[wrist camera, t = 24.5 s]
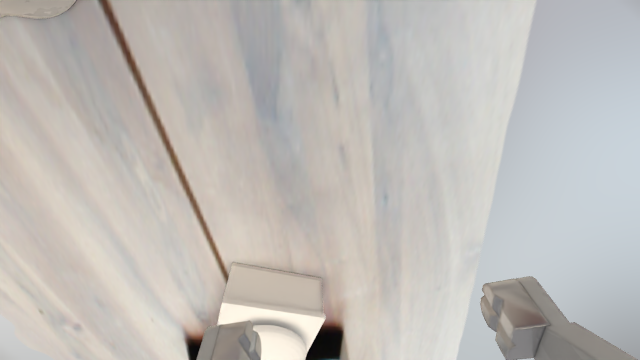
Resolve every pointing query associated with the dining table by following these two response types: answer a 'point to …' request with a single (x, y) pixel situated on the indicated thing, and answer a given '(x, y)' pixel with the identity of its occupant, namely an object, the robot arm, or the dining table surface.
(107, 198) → the dining table surface
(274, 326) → the white square lidded jar
